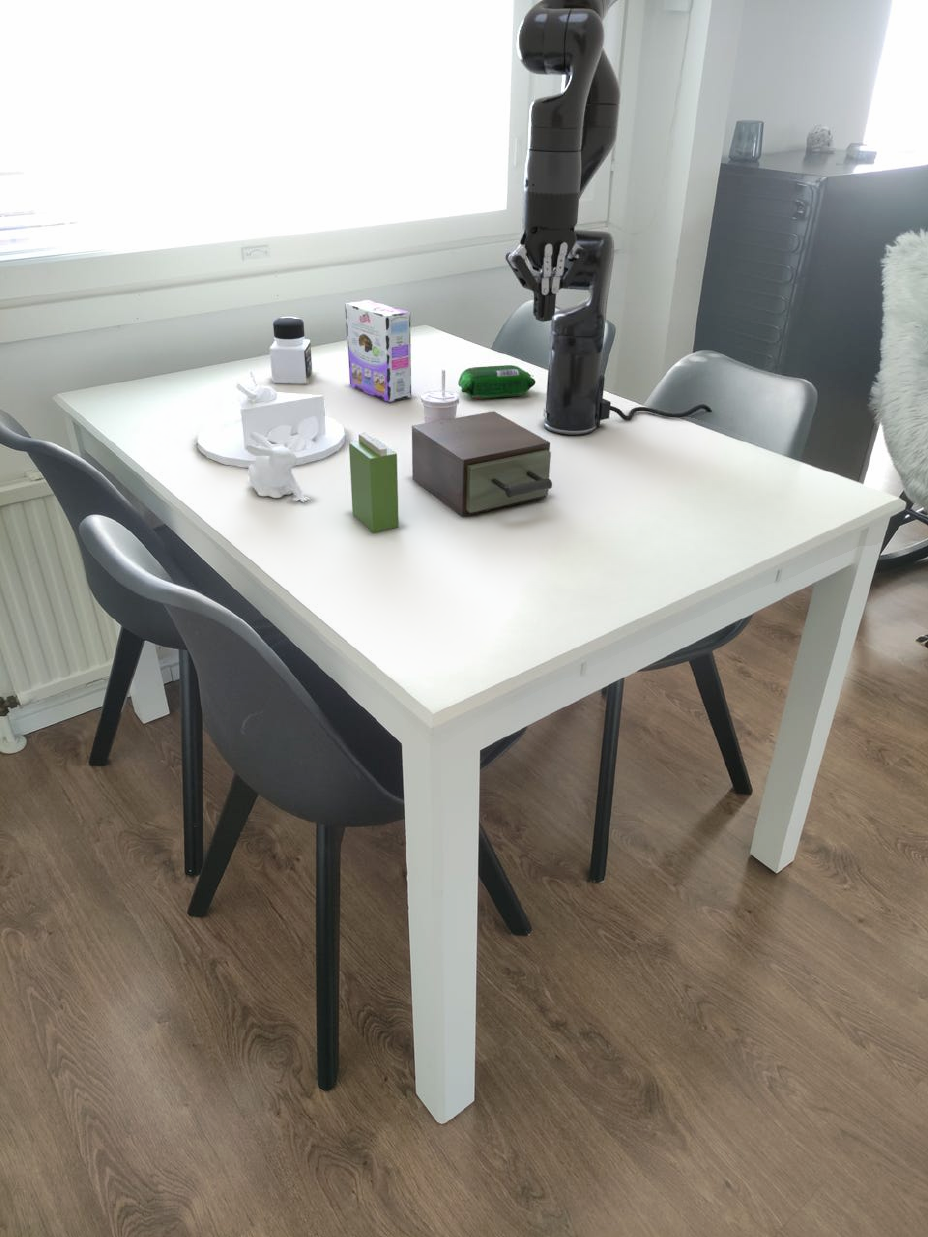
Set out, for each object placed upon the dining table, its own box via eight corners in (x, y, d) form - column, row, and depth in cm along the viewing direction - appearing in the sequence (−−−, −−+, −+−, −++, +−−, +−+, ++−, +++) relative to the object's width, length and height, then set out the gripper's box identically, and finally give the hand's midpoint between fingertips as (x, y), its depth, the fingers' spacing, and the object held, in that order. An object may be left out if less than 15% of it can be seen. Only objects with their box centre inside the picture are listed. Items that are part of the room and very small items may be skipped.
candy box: (412, 397, 179) (411, 311, 170) (388, 403, 175) (386, 315, 167) (371, 380, 187) (369, 297, 179) (348, 386, 184) (343, 301, 176)
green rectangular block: (352, 514, 133) (348, 435, 126) (377, 508, 134) (374, 430, 128) (373, 532, 128) (370, 451, 121) (398, 527, 129) (396, 446, 123)
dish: (196, 472, 145) (186, 403, 139) (201, 420, 166) (192, 357, 160) (351, 463, 149) (348, 395, 143) (337, 413, 170) (334, 352, 164)
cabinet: (546, 497, 139) (550, 442, 134) (462, 516, 133) (463, 459, 128) (492, 462, 151) (493, 410, 146) (412, 479, 144) (411, 425, 140)
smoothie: (454, 460, 151) (455, 376, 144) (416, 457, 152) (415, 373, 145) (462, 447, 156) (463, 365, 149) (425, 443, 157) (425, 362, 150)
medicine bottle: (307, 384, 185) (302, 323, 178) (272, 383, 185) (266, 322, 178) (312, 373, 191) (308, 314, 185) (278, 373, 191) (273, 314, 185)
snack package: (539, 398, 180) (541, 371, 177) (462, 402, 177) (463, 375, 174) (529, 387, 186) (530, 361, 183) (454, 391, 183) (454, 365, 180)
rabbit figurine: (311, 501, 136) (306, 439, 131) (264, 513, 133) (257, 449, 127) (275, 475, 145) (270, 415, 139) (230, 485, 141) (223, 425, 136)
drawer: (568, 508, 134) (572, 464, 130) (489, 527, 128) (491, 481, 124) (496, 462, 148) (498, 421, 145) (422, 478, 142) (422, 435, 139)
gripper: (525, 193, 116) (519, 331, 125) (608, 188, 122) (596, 320, 131) (494, 186, 122) (490, 319, 131) (575, 182, 128) (565, 309, 137)
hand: (543, 319), depth 131 cm, fingers closed
